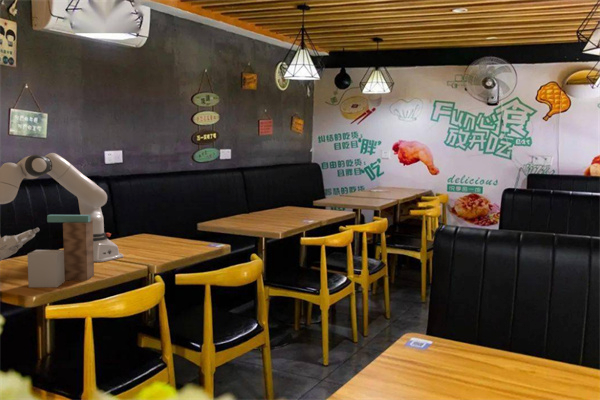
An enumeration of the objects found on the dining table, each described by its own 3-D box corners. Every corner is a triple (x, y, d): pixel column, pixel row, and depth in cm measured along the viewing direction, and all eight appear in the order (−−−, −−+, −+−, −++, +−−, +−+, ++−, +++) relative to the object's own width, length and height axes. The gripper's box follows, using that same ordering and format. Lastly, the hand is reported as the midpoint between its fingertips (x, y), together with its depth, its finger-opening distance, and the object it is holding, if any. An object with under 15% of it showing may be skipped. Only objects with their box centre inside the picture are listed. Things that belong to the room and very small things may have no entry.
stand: (64, 280, 252) (62, 223, 249) (72, 275, 261) (70, 220, 259) (87, 280, 252) (85, 223, 249) (94, 275, 262) (92, 220, 259)
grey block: (28, 287, 239) (27, 254, 238) (37, 281, 248) (36, 249, 247) (57, 287, 240) (56, 254, 239) (64, 281, 249) (63, 249, 248)
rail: (47, 222, 251) (47, 215, 251) (50, 221, 255) (50, 214, 255) (88, 222, 253) (88, 215, 252) (90, 221, 256) (90, 214, 256)
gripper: (-8, 244, 243) (20, 228, 243) (13, 235, 263) (39, 221, 263) (0, 256, 243) (28, 241, 243) (21, 247, 264) (46, 232, 264)
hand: (34, 230), depth 253 cm, fingers open, 8 cm apart
